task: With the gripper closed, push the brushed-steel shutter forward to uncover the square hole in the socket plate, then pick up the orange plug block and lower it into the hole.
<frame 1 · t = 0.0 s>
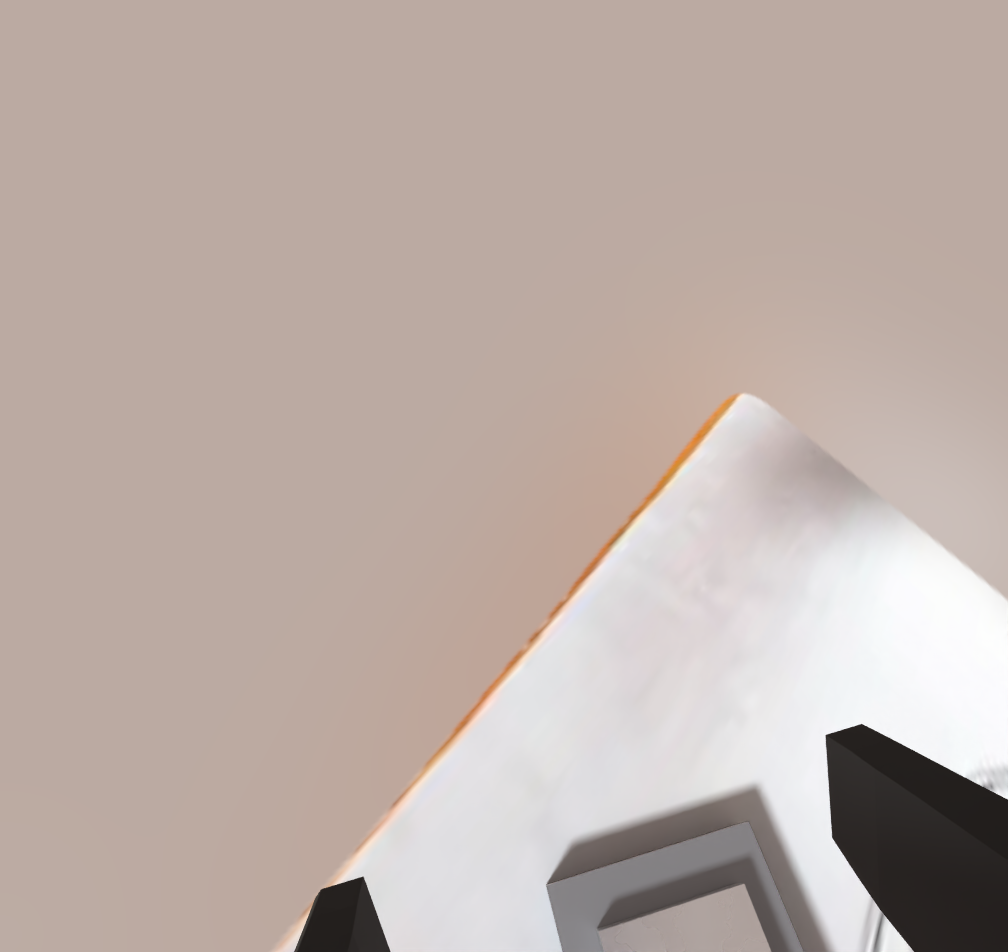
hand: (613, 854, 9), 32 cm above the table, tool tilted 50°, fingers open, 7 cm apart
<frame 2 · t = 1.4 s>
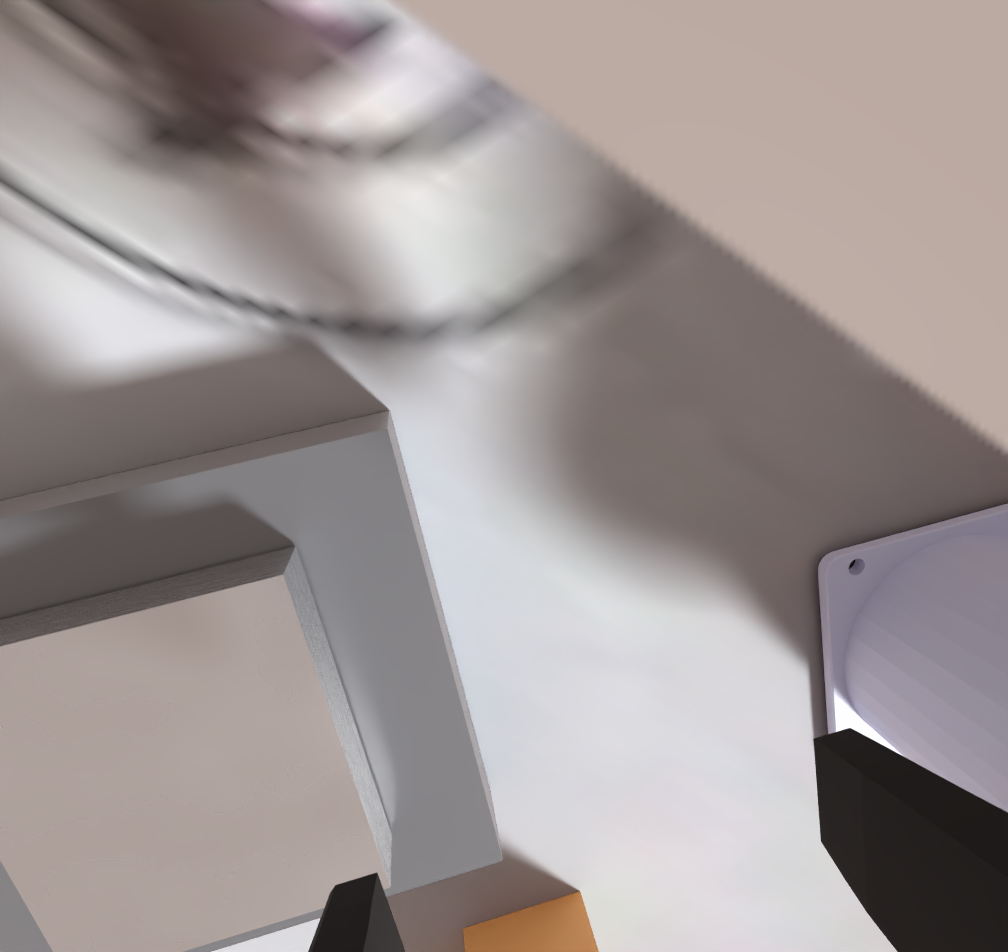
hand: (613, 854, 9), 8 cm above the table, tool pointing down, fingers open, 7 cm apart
socket plate: (226, 678, 16), on the table
shutter: (183, 767, 13), point 3 cm above the table, slide at 0.0 cm
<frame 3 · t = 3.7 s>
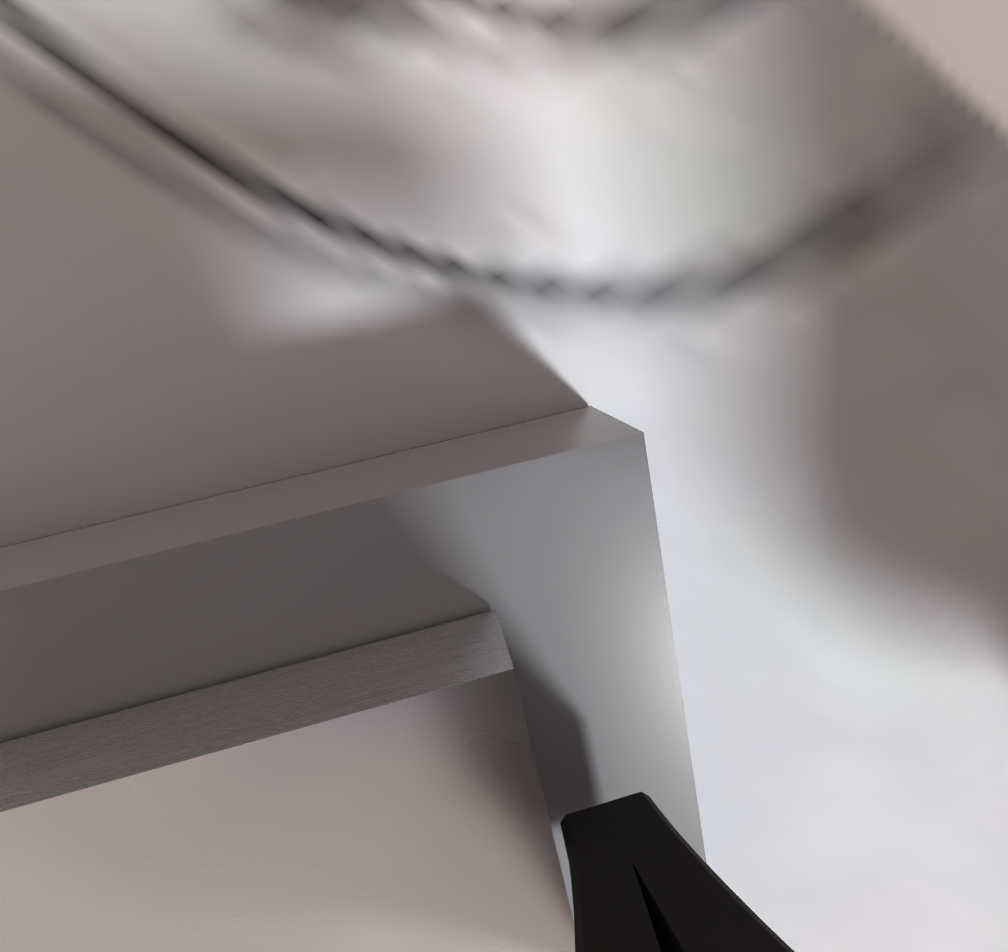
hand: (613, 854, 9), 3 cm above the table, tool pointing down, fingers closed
socket plate: (349, 772, 12), on the table
shutter: (325, 940, 9), point 3 cm above the table, slide at 0.1 cm, touching gripper
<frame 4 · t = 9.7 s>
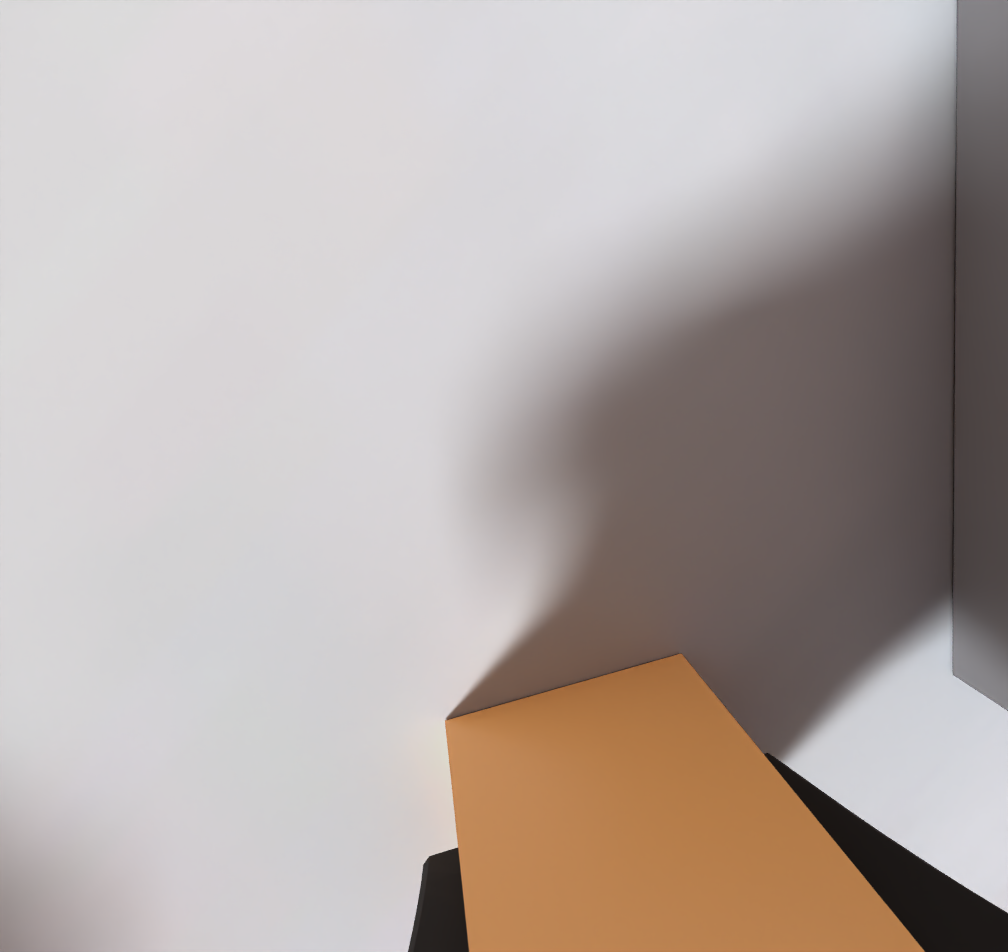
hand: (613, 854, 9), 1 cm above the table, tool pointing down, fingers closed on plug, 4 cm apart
plug: (585, 784, 10), on the table, touching gripper
when the fingers open (3 cm above the table, at t = 14.0 s): plug drops 2 cm, resting in socket plate.
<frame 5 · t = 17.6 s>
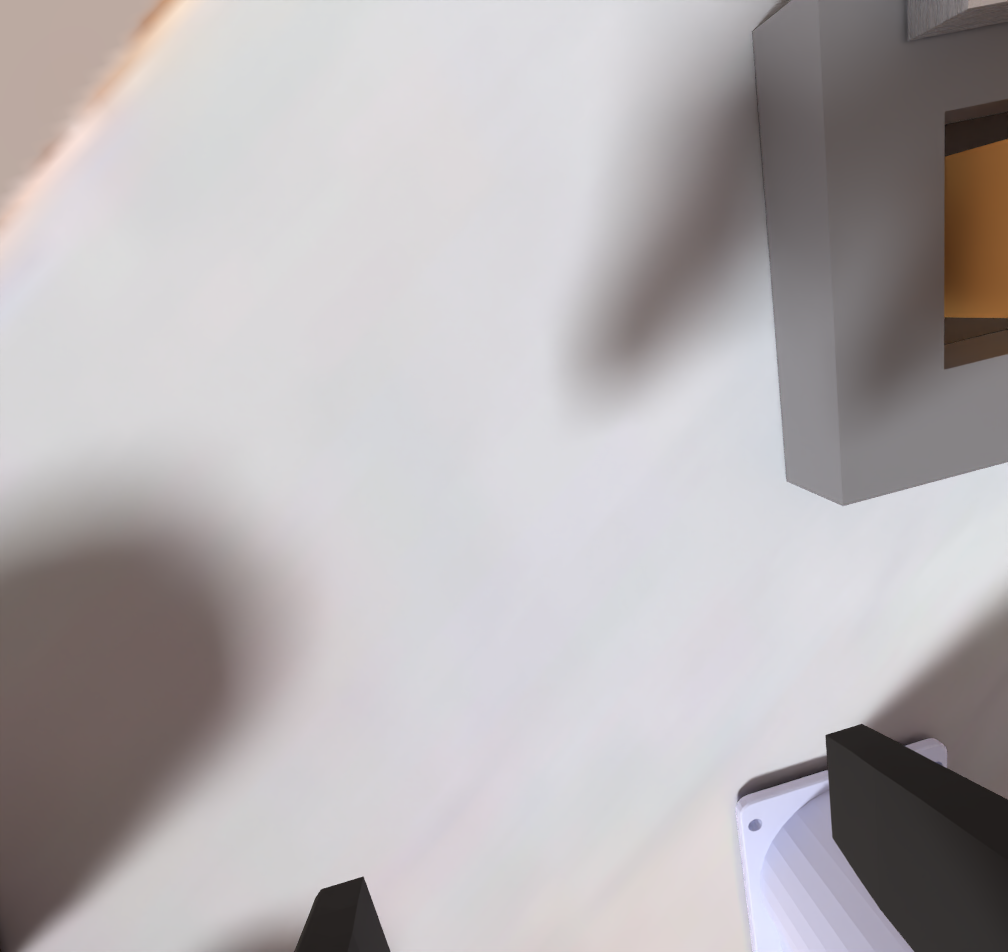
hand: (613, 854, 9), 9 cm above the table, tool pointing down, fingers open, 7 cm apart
plug: (962, 232, 18), resting in socket plate
socket plate: (964, 235, 18), on the table
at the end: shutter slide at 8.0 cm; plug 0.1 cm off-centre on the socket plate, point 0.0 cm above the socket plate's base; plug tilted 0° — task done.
